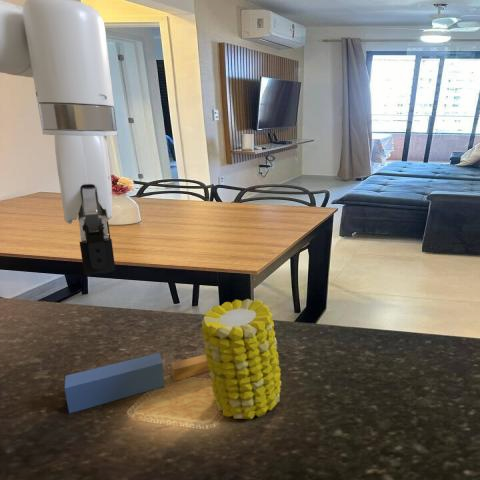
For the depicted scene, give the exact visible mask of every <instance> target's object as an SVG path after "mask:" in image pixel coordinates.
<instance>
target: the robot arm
mask: <svg viewBox="0 0 480 480" xmlns="http://www.w3.org/2000/svg"><path fill="white" fill-rule="evenodd" d="M110 66H111V65H110V58H109V50H108V40H107V32H106V25H105V21H104V18H103V16H102V15H101V13H100V12H99V11H98V10H97V9H95V8H94V7H92V6H90V5H89V4H86V3H84V2H82V1H79V0H25V2H24V4H23V6H21V5H18V4H14V3H11V2H9V1H6V0H0V73H1V74H6V75H11V76H18V77H25V78H32V79H33V84H34V91H35V95H36V101H37V102H36V103H37V107H38V114H39V120H40V126H41V132H42V135H45V136H47V135H48V136H54V151H55V160H56V161H55V163H56V169H57V170H56V171H57V177H58V183H59V189H60V196H61V203H62V210H63V212H62V213H63V220H64V222H66V223H67V224H73V221H77V220H78V223H79V233H80V241H79V248H80V254H81V262H82V268H83V274H84V275H85V276H93V275H100V274H106V273H107V274H108V273H114V271H116V263H115V255H114V248H113V241H112V238H111V235H110V234H111V232H110V225H109V221H110V220H111V219H112V218H113V185H112V184H113V183H112V174H111V173H112V172H111V165H110V153H109V145H108V137H114V136H115V137H116V136H118V127H117V119H116V110H115V102H114V94H113V83H112V75H111V67H110Z"/></svg>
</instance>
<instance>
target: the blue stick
mask: <svg viewBox="0 0 480 480" xmlns="http://www.w3.org/2000/svg"><path fill="white" fill-rule="evenodd" d="M163 387H164V388H165V375H164V366H163V360H162V358H161V354H160V352H157V353H153V354H150V355H149V354H148V355H145V356H141V357H136V358H133V359H128V360H125V361H120V362H117V363H112V364H108V365H104V366H100V367H99V366H98V367H96V368H92V369H87V370H84V371H83V370H82V371H79V372H76V373H70V374H68V375H67V374H66V375H65V377H64V394H65V398H66V399H65V400H66V404H67V410H68V414H73V413H77V412H80V411H84V410H87V409H91V408H93V407H97V406H100V405H104V404H107V403H111V402H114V401H118V400H122V399H126V398H128V397H132V396H135V395H140V394H143V393H146V392H149V391H153V390H157V389H161V388H163Z"/></svg>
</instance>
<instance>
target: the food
mask: <svg viewBox="0 0 480 480" xmlns="http://www.w3.org/2000/svg"><path fill="white" fill-rule="evenodd" d="M273 318H274V314H273V313H272V312H271V310H270V308H269V306H268V305H266V304H263V301H262V300H258V299H255V300H254V301H253V300H252V299H249V298H246V299H244V300H240V299H234V300H232V302H230V301H225V302H223V303H222V304H221V305H213V308H212V309H211V310H210V309H209V310H208V311H207V312H206V313H205V314H204V316H203V318H202V319H201V333H202V339H203V349H204V352H205V354H206V357H207V358H206V359H207V361H208V364H207V365H208V367H209V369H210V371H209V373H208V376H209V377H210V378H211V379H210V380H211V389H212V391H213V396H214V398H215V404H216V407H217V410H218V411H222V415H223V416H225V417H227V418H231V417H233V419H235V420H241V419H243V420H252V419H253V418H254V417H255V416H256V417H257V418H259V417H263V416H265V415H266V413H267V411H272V410H273V408H275V407H276V405H277V404H278V403H279V402H281V399H280V398H281V397H280V396H281V395H280V392H281V391H282V390H281V386H282V381H281V375H282V373H281V370H282V369H281V368H280V360H279V357H280V356H279V352H278V351H277V349H278V347H277V345H278V341H277V338H276V331H275V330H274V328H275V324H274V323H275V322H274V320H273Z"/></svg>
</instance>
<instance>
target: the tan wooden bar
mask: <svg viewBox="0 0 480 480" xmlns="http://www.w3.org/2000/svg"><path fill="white" fill-rule="evenodd" d="M206 358H207V357H206V353H205V354H204V353H203V354H201V355H197V356H192V357H190V358H189V357H188V358H185V359H182V360H177V361H174V362H170V370H171V376H172V380H173V382H176V381H180V380H183V379H186V378H190V377H194V376H198V375H200V374H205V373H208V372H210V369H209V367H208V365H207V364H208V361H207V359H206Z"/></svg>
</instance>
